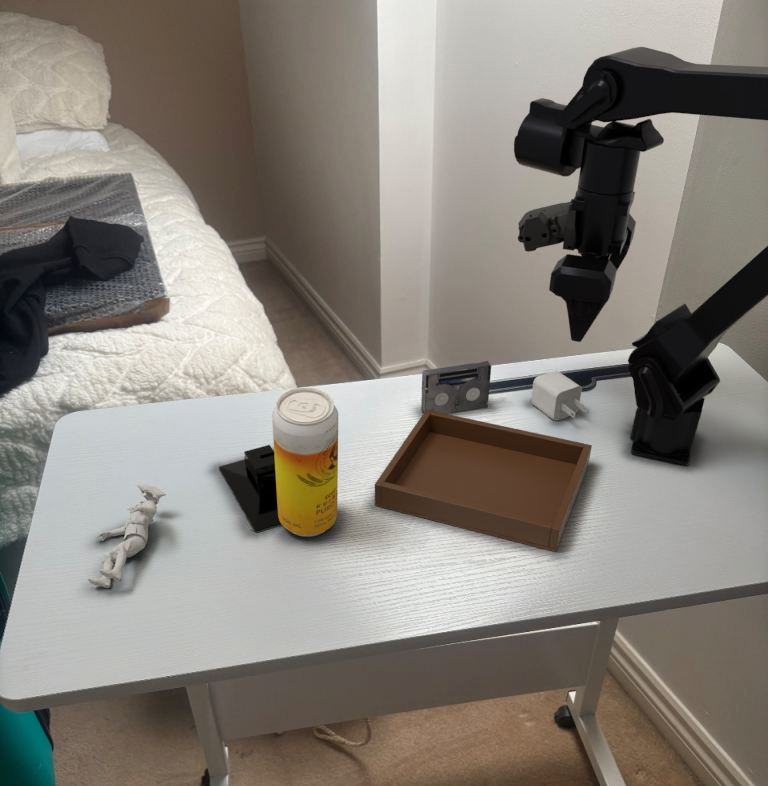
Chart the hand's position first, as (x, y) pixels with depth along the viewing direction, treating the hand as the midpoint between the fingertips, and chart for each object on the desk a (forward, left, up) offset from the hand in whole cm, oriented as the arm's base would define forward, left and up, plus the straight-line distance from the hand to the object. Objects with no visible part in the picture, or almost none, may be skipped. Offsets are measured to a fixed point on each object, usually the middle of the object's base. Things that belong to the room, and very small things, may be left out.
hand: (583, 323), depth 96 cm
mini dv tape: (+13, +6, -11) cm, 19 cm away
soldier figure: (+35, +43, -11) cm, 57 cm away
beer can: (+20, +33, -11) cm, 40 cm away
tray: (+5, +20, -11) cm, 23 cm away
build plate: (+27, +30, -11) cm, 42 cm away
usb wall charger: (+1, +2, -11) cm, 12 cm away
